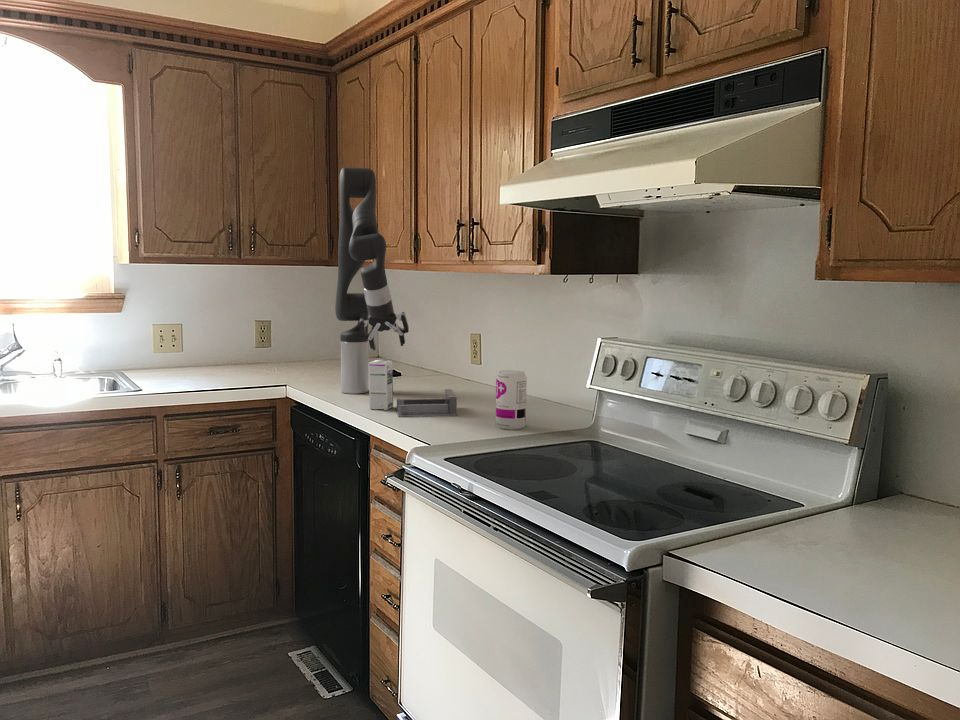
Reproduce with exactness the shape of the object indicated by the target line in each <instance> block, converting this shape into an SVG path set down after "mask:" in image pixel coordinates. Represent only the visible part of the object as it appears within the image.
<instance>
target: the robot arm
mask: <svg viewBox="0 0 960 720" xmlns="http://www.w3.org/2000/svg"><path fill="white" fill-rule="evenodd" d="M338 180H339V184H338V185H339V188H338V189H339V190H338V191H339V192H338V193H339V229H338V240H337V241H338V243H337V244H338V245H337V246H338V247H337V256H338V257H337V261H338V263H337V267H338V268H337V282H336V283H337V286H336V295H335V309H334V310H335V317H336V319H337V320H338V321H340V322H357V324H356V325H355V326H354V327H351V328H350V329H347V330H344V331H342V332H341V333H340V341H339V342H340V392H341V393H343V394H363V393H369V347H370V349H371V350H373V351H376V350H377V349H376V348H377V347H376V343H375V338H374V336H375V335H376V333H377V332H380V333H381V332H384V331H391V330H392V331H393V332H394V333H396V334H397V335H398V339H399V343H400V347H404V345H405V344H406V339H405V334H407V333H409V331H410V329H409V327H410V326H409V323H408V320H407V316H406V313H405V311H402V312H401V313H399V314H398V313H397V314H396V313H395V310H394V306H393V300H392V295H391V291H390V286H389V285H388V279H387V273H386V266H385V264H386V263H385V262H386V254H387V253H386V252H387V242H386V239H385V237H384V236H383V235H382V234H381V233H378V224H377V217H376V207H377V206H376V205H377V179H376V174H375V171H374V170H373V169H371V168H367V167H351V166H348V167H346V166H344V167H342V168H341V169H340V173H339V178H338ZM350 199H362V200H361V201H360V203H359V204H358V205H356V207H355V209H354V210H353V208H352V205H351V201H350ZM374 259H375V261H374V262H372V263H370V264H368V265H365V266H364V267H363V265H364V264H365V262H366V261H370V260H374ZM360 269H361V271H360ZM358 272H360V276H361V282H362V286H363V293H362V292H361V293H360V292H359V293H358V292H352V293H351V292H350V293H349V292H348V290H349V287H350V285H351V283H352V281H353V279H354V277H355V276H356V274H358ZM397 320H399V322H402V323H401V324H402V325H403V327H401V326H400V325H399V324H398V323H397V322H396V321H397ZM369 325H370V326H371V328H370V331H369Z"/></svg>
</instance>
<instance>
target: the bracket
mask: <svg viewBox="0 0 960 720" xmlns="http://www.w3.org/2000/svg"><path fill="white" fill-rule="evenodd" d="M457 398H458V397H457V395H456V394H455V393H454V391H453V389H452V388H449V389H448V388H444V398H438V397H437V398H397V399H396V407H395V408H396V412H398V413H397V416H418V417H419V416H422V417H455V416H456V417H457V416H458V411H457V409H458V408H457V406H458V405H457V404H458V403H457V402H458V399H457ZM419 418H420V417H419Z"/></svg>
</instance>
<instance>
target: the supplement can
mask: <svg viewBox="0 0 960 720" xmlns="http://www.w3.org/2000/svg"><path fill="white" fill-rule="evenodd" d="M527 379H528V378H527V376H526V373H525V372H524V371H521V370H514V369H513V370H507V369H506V370H501V371H498V374H497V375H496V377H495V380H496V381H495V426H497V428H499V429H502V430H509V431H511V430H512V431H513V430H514V431H515V430H522V429H523V428H524V427H525V426H527V382H528V381H527Z"/></svg>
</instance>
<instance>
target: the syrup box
mask: <svg viewBox="0 0 960 720" xmlns="http://www.w3.org/2000/svg"><path fill="white" fill-rule="evenodd" d="M368 370H369V391H368V393H369V410H372V409H384V410H383V411H389V410H390V409H391V408H393V407H394V382H393V381H394V379H393V377H394V376H393V375H394V374H393V360H390V359H375V360H373V361H370V362H369V361H368Z"/></svg>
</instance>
